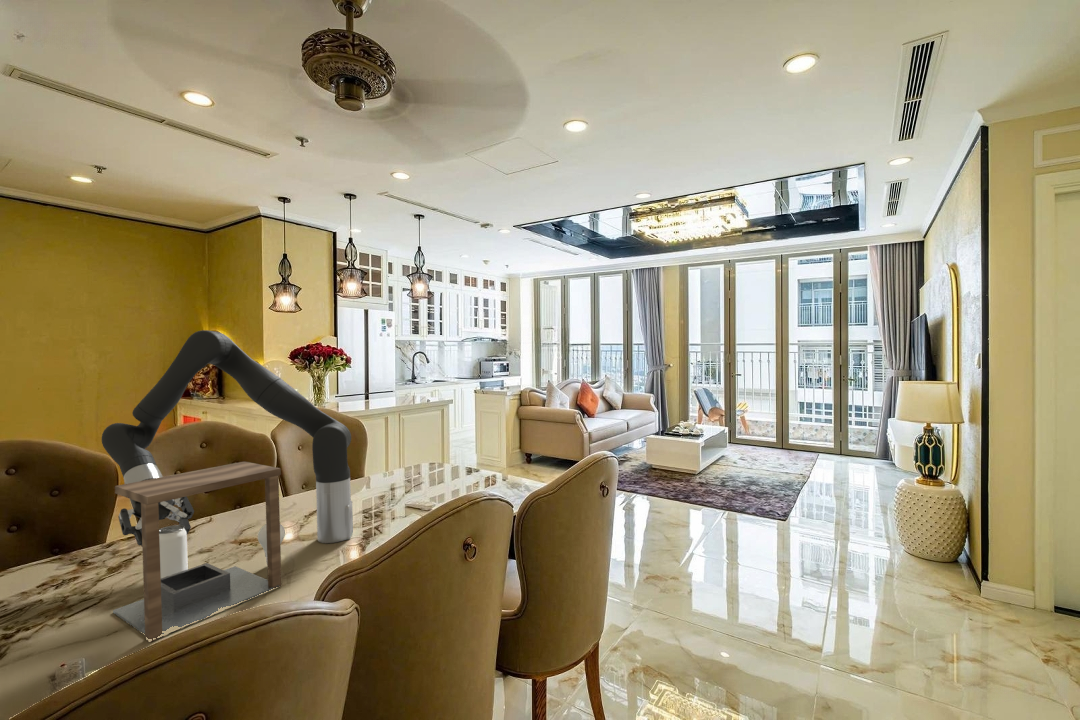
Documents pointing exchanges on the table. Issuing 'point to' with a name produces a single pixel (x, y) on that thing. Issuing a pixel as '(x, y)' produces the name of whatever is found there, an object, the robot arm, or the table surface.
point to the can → (173, 550)
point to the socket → (197, 595)
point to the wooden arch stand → (188, 485)
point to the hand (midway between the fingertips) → (166, 538)
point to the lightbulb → (263, 537)
